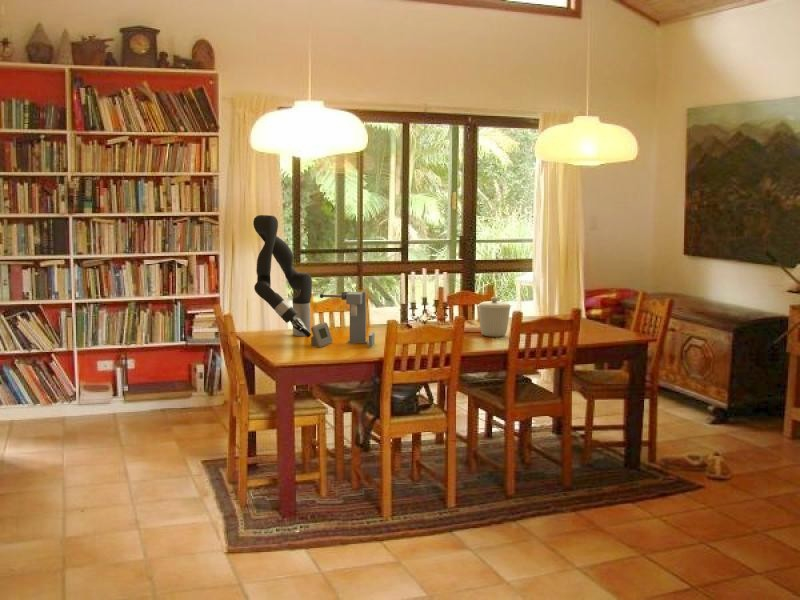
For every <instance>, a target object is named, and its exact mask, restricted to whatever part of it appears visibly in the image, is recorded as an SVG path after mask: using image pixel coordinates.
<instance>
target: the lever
mask: <svg viewBox="0 0 800 600" xmlns="http://www.w3.org/2000/svg"><path fill="white" fill-rule="evenodd" d="M319 298H320V299H323V298H340V299H342V298H343V299H346V294H343V295H342V294H324V293H320V294H319Z"/></svg>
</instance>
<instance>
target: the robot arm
mask: <svg viewBox="0 0 800 600" xmlns="http://www.w3.org/2000/svg"><path fill="white" fill-rule="evenodd" d="M252 221H253V223H252V225H253V228H254V230H255V233H257V234H258V236H259V237H260V238H261V240H262V241H263V242H264V244H263V246H262V248H261V250H260V251H259V253H258V257H257V259H256V270H255V271H256V275H257V277H256V283H255V284H254V286H253V287H254V291H255V293H256V294H257V295H258V296H259V297H260V298H261V299H263V300H264V301H265V302H266V303H267V304H268V305H269V306H270V307H271V308H272V309H273V310H274V311H275V313H276V314H277V315H278V316H279V317H280V319H282V321H284V322H285V323H286V324H287V323H289V322H290V323H291V325H292V335H293V336H296V337H307V338H311V337H312V333H311V299H312V294H313V293H312V292H313V279H312V276H311V274H310V273H307V272H298V271H297V270H296V269H295V267H294V259H295V258H294V253H293V251H292V249H291V248H290V246H289V245H288V244H287V242H285V241H284V240H283V239H282V238H280V237H279V236H277V233H278V229H279V221H278V218H277V217H276V216H275V215H266V214H260V215H256V216H255V217H254V219H253V220H252ZM272 257H274V259H275V261H276V262H277V264H278V265H279V267H280V269H281V270H282V272H283V274H284V275H285V278H286V280H287V282H288V285H289V286H290V288H291V289H293V290H296V291H300V292H299V294H298V295H297V296H293V298H292V306H291V305H290V304H289V302H287V301H286V300H285V299H284V298H283V297H282V296H281V295H280V294H279V293H277V292H275V291H274V290H273V289H272V288H271V284H272V283H271V280H272V279H271V271H272V270H271V269H272V259H273V258H272Z"/></svg>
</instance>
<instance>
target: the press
mask: <svg viewBox="0 0 800 600" xmlns="http://www.w3.org/2000/svg"><path fill="white" fill-rule="evenodd" d="M343 294H346V299H343V298H341V300H342V301H346V303H345V304H346V305H349V339H348V340H347V344H348V343H368V348H369V347H372V346H373V347H374V345H375V334H376V333H375V332H376V331H375V332H374V331H372V332H371V331H370V333H369V334H368V340H367V323H366V322H367V292H366V291H365V292H364V291H341V295H343ZM373 347H372V348H373Z"/></svg>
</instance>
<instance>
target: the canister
mask: <svg viewBox="0 0 800 600" xmlns="http://www.w3.org/2000/svg"><path fill="white" fill-rule="evenodd" d="M498 300H499V299H498V297H497V296H492V297H491V298H490V300H489V301H487V300H486V301H482V302H479V304H477V307H478V317H479V318H478V319H479V327H480V333H481V334H482V335H483V336H484V337H490V338H497V337H498V338H499V337H500V338H501V337H504V336H505V335H506V334H507V332H508V325H509V318H510V311H511V308H512V305H511V304H510V303H508V302H505V301H498Z"/></svg>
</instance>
